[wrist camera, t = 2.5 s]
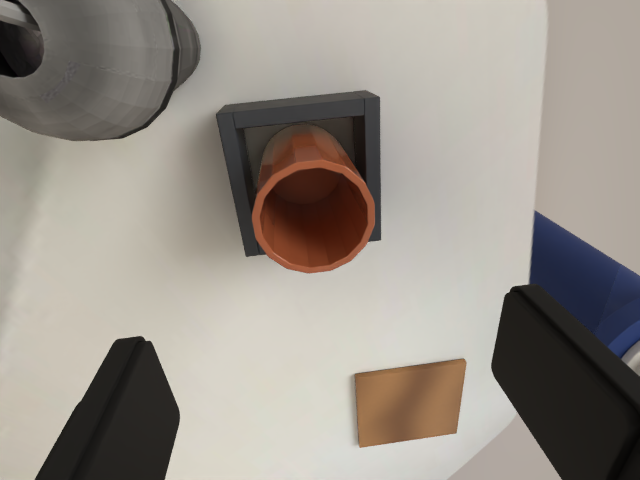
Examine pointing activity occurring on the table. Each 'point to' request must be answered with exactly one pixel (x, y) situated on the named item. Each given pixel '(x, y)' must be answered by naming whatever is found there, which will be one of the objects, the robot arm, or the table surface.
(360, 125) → the cup holder
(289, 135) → the tumbler
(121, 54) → the beverage cup
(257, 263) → the table surface
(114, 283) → the table surface
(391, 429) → the cork mat
